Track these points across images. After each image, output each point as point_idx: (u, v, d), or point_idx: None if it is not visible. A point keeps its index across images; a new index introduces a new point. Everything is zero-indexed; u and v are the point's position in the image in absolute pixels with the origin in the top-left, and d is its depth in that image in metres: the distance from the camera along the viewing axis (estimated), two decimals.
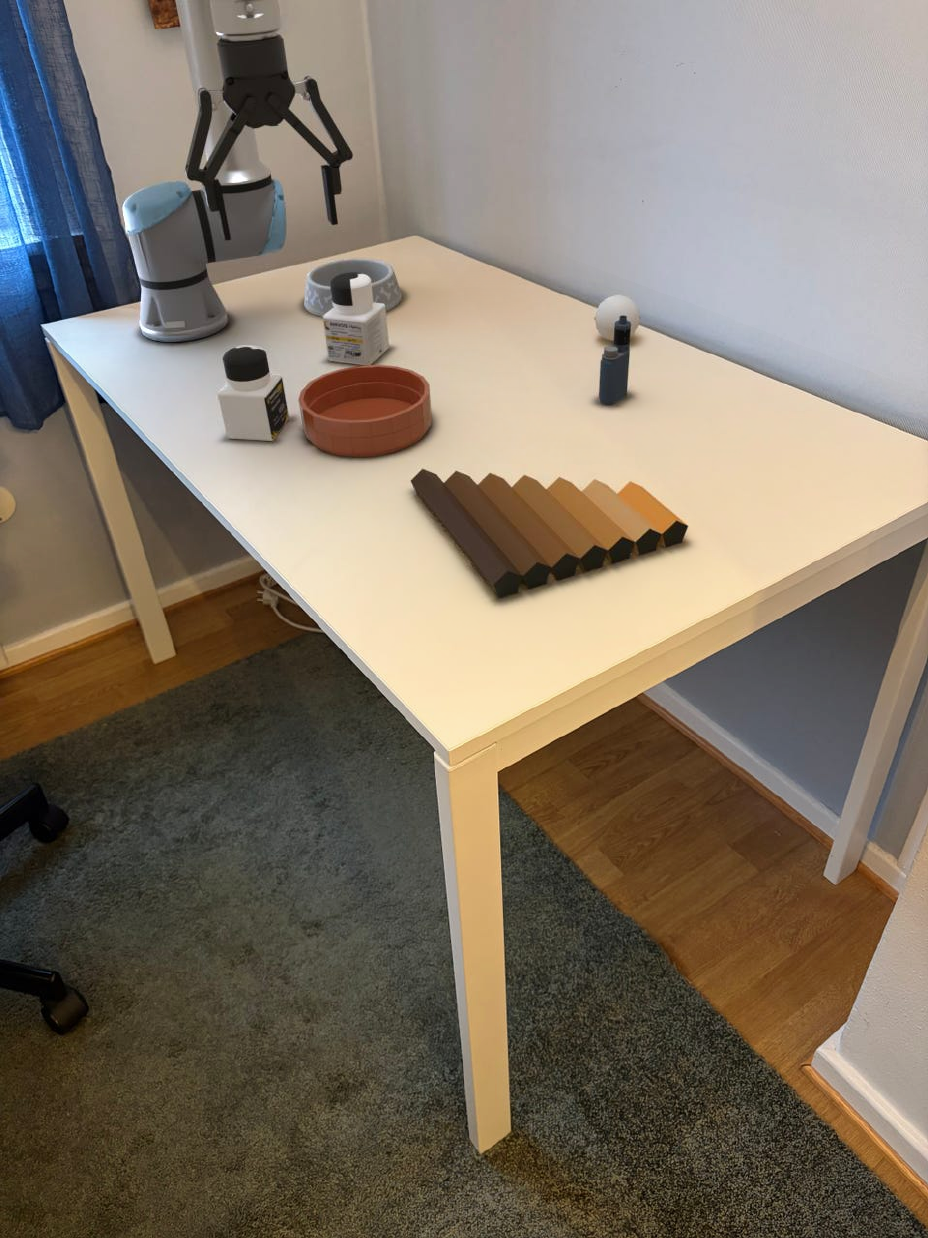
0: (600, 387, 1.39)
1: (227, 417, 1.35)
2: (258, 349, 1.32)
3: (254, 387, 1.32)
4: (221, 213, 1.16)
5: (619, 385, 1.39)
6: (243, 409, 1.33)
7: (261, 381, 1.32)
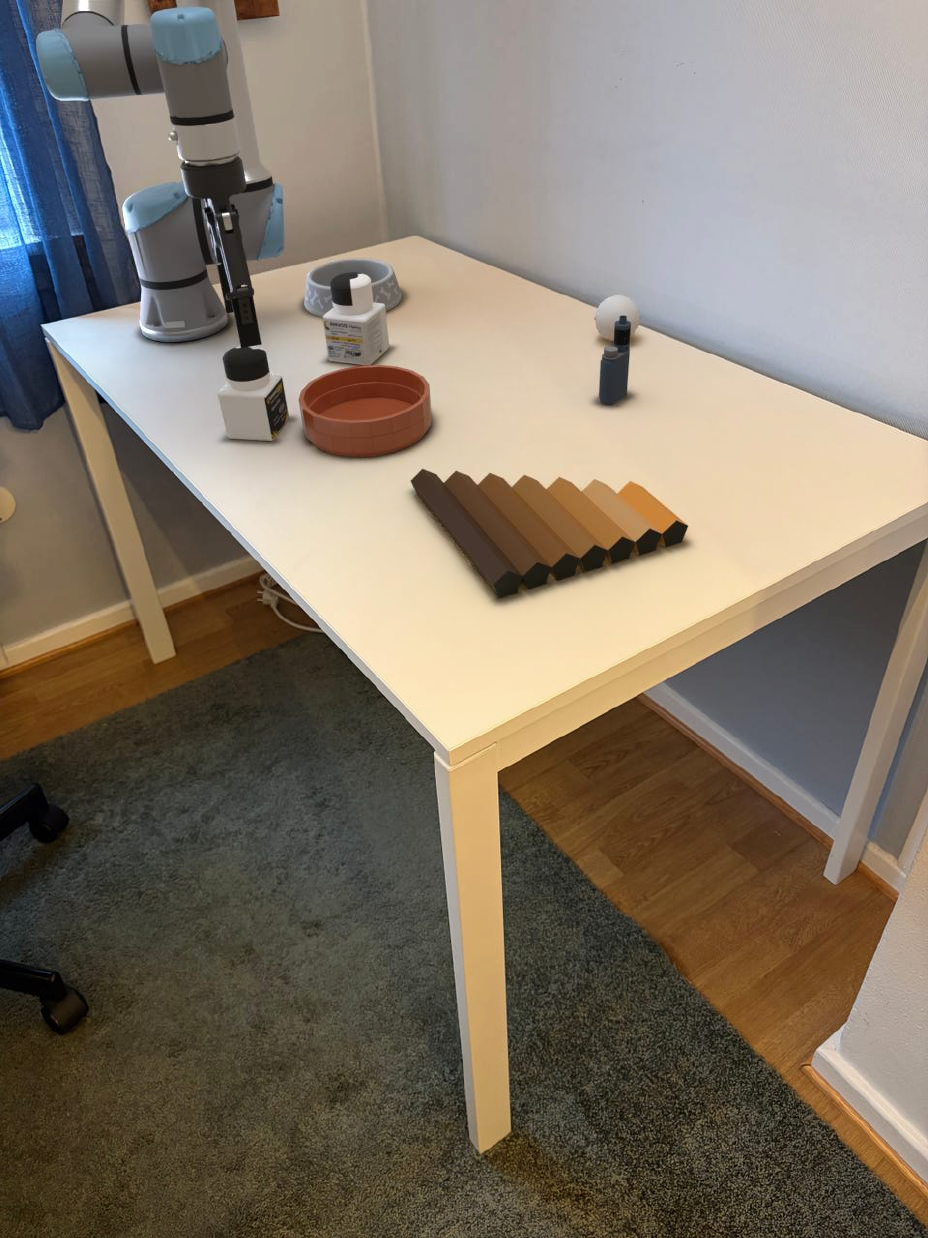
0: (600, 387, 1.39)
1: (227, 417, 1.35)
2: (258, 349, 1.32)
3: (254, 387, 1.32)
4: None
5: (619, 385, 1.39)
6: (243, 410, 1.33)
7: (261, 381, 1.32)
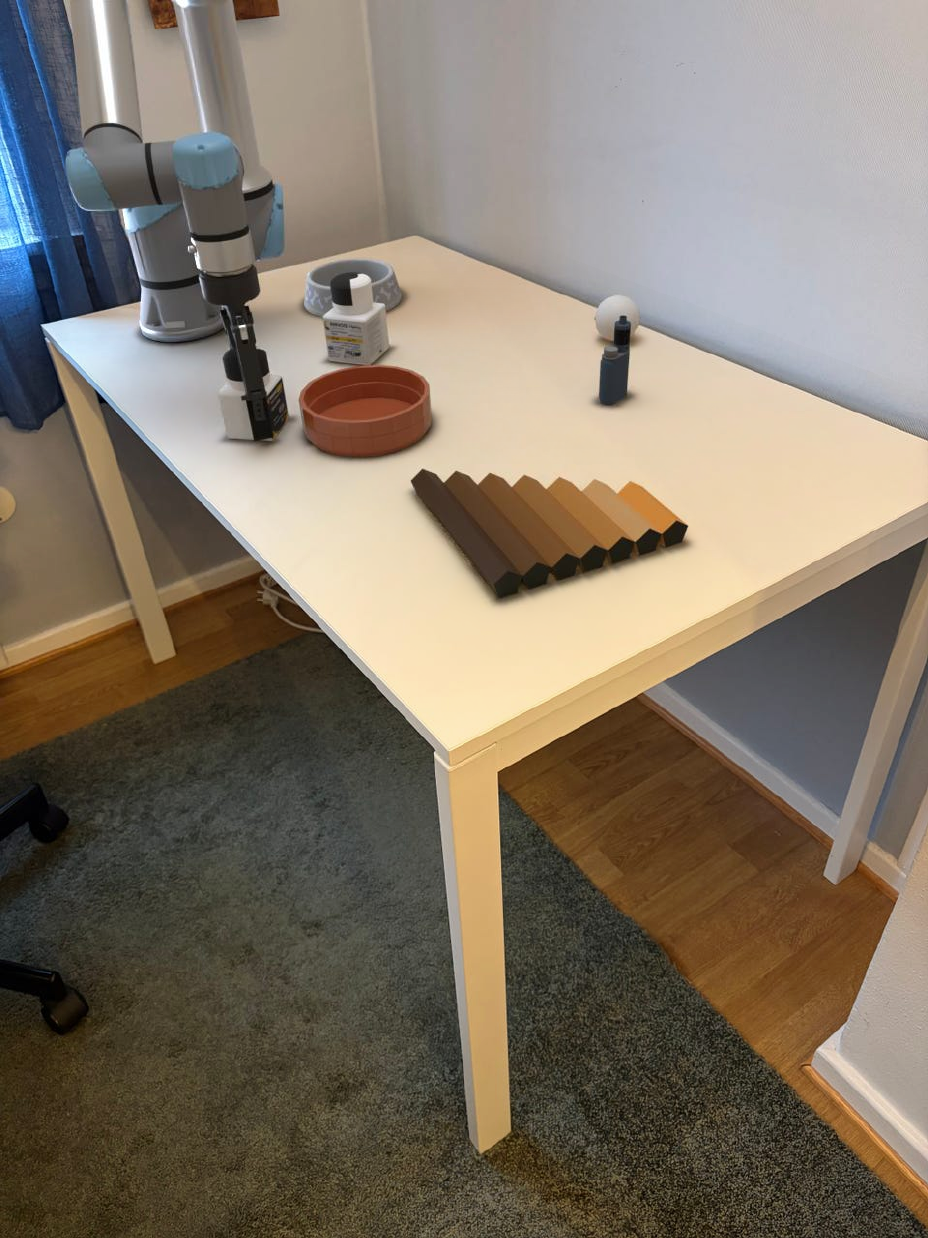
0: (600, 387, 1.39)
1: (227, 417, 1.35)
2: (258, 349, 1.32)
3: None
4: None
5: (619, 385, 1.39)
6: (243, 410, 1.33)
7: None
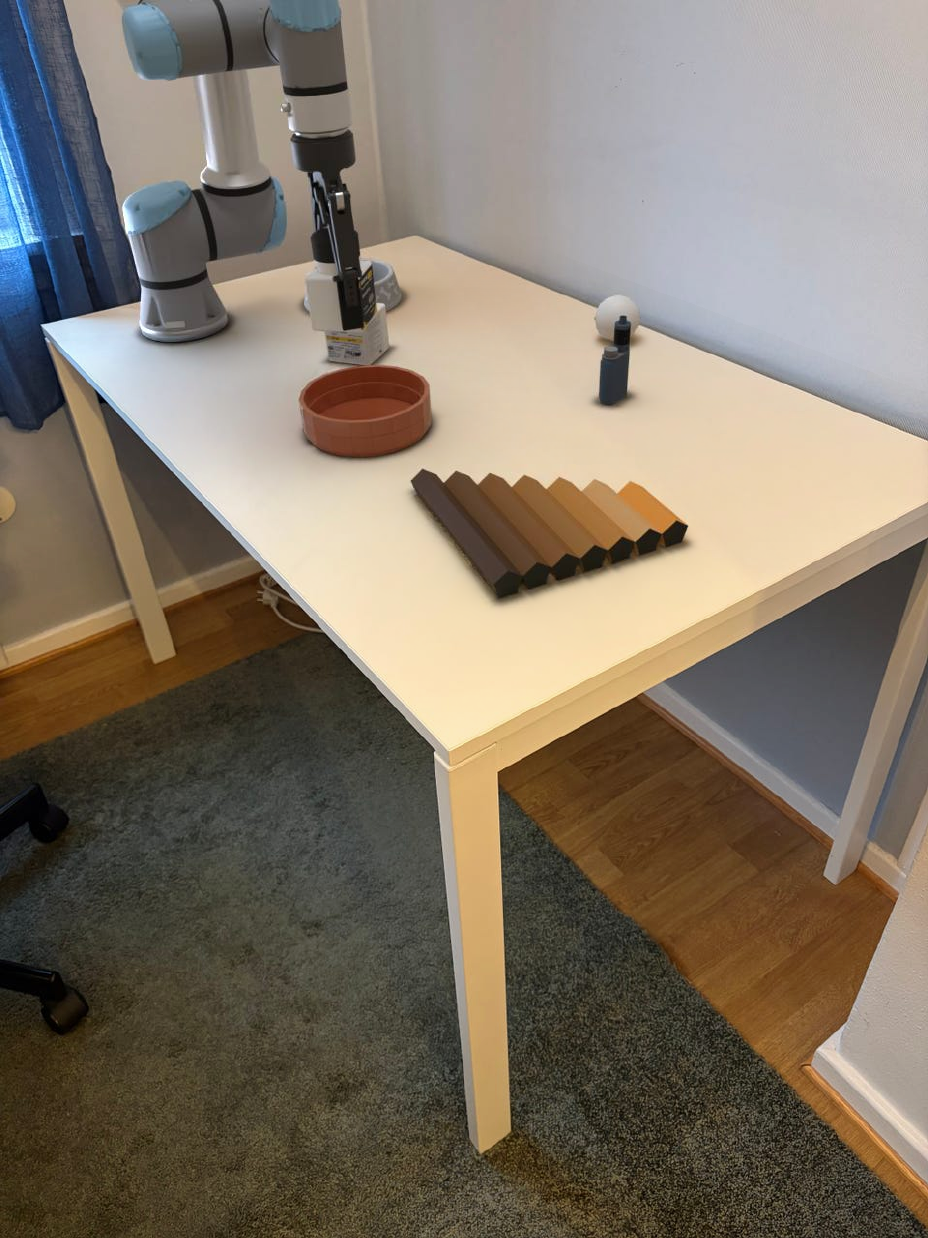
0: (600, 387, 1.39)
1: (313, 305, 1.24)
2: None
3: None
4: None
5: (619, 385, 1.39)
6: (332, 296, 1.23)
7: None
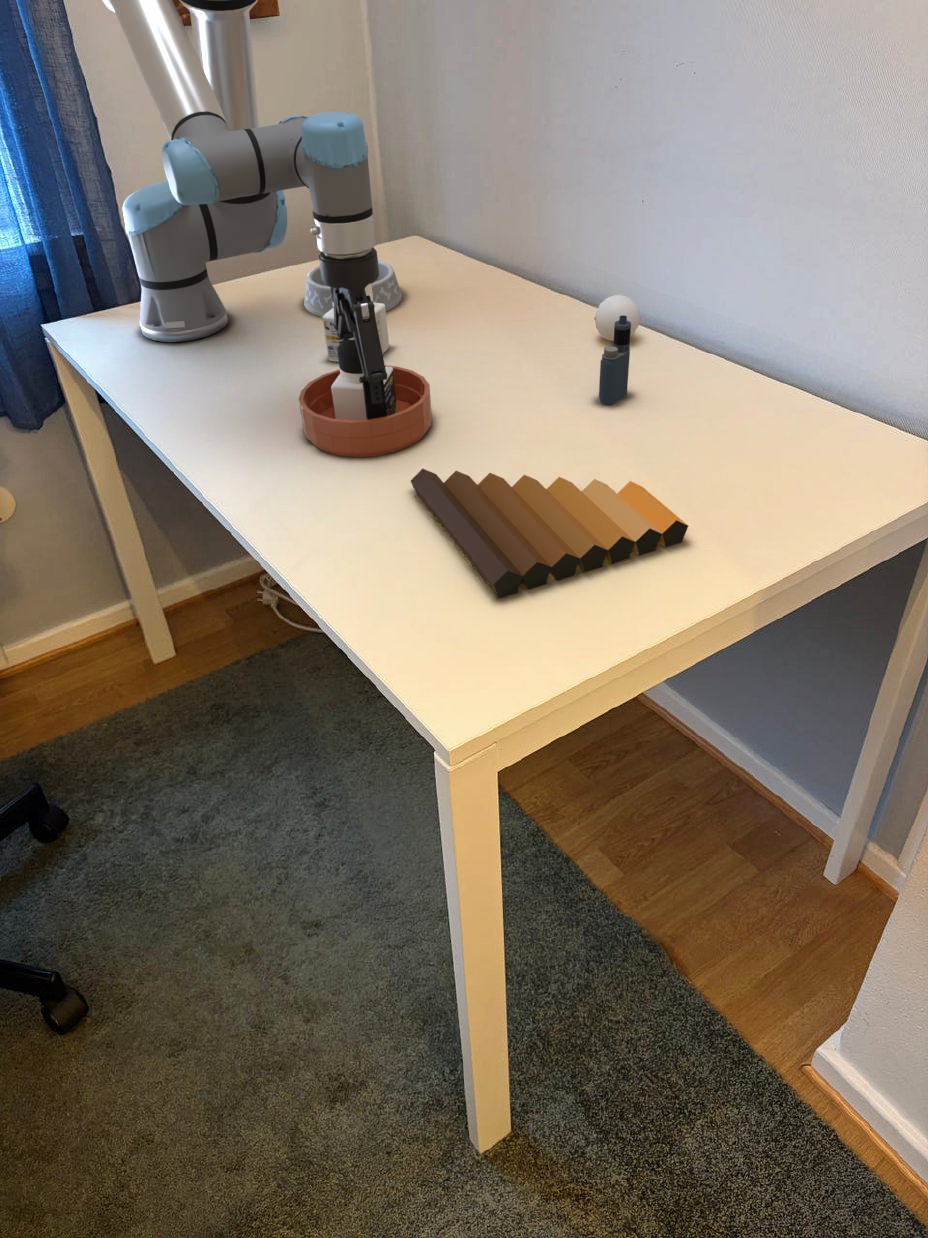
0: (600, 387, 1.39)
1: (339, 410, 1.33)
2: None
3: None
4: None
5: (619, 385, 1.39)
6: (356, 402, 1.32)
7: None
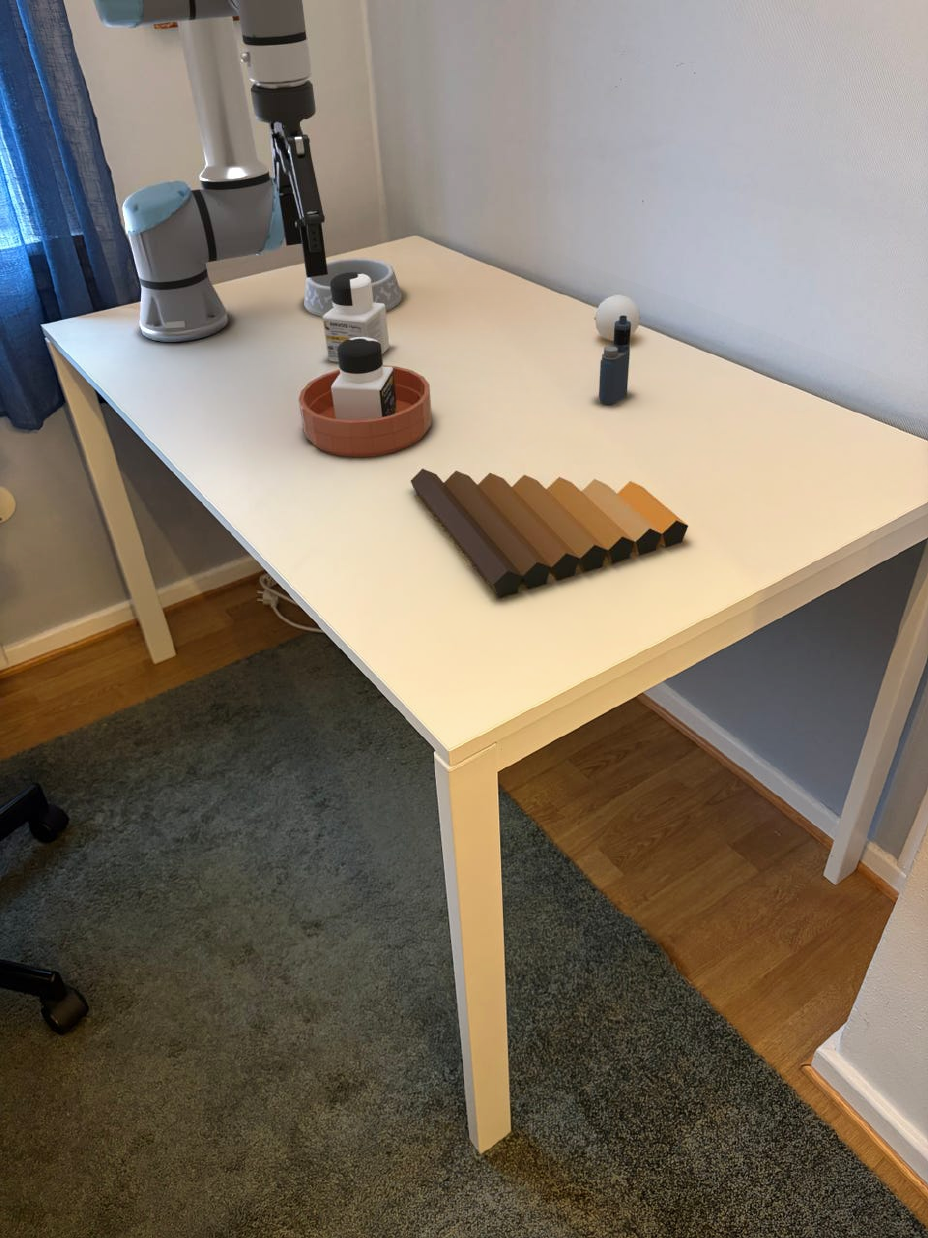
0: (600, 387, 1.39)
1: (339, 410, 1.33)
2: (373, 341, 1.30)
3: (368, 379, 1.31)
4: (282, 220, 1.32)
5: (619, 385, 1.39)
6: (356, 402, 1.32)
7: (376, 373, 1.31)
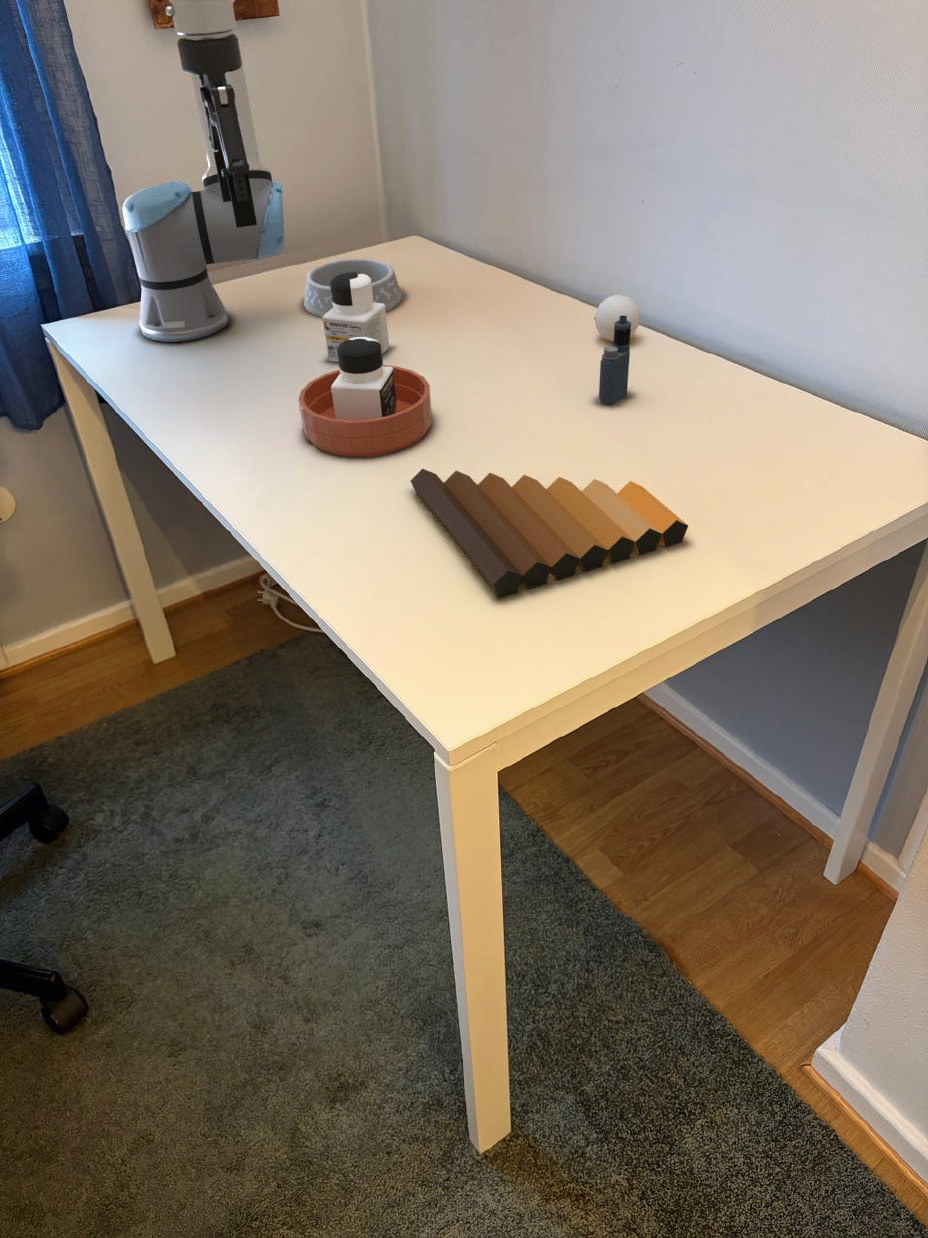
0: (600, 387, 1.39)
1: (339, 410, 1.33)
2: (373, 341, 1.30)
3: (368, 379, 1.31)
4: (218, 177, 1.35)
5: (619, 385, 1.39)
6: (356, 402, 1.32)
7: (376, 373, 1.31)
